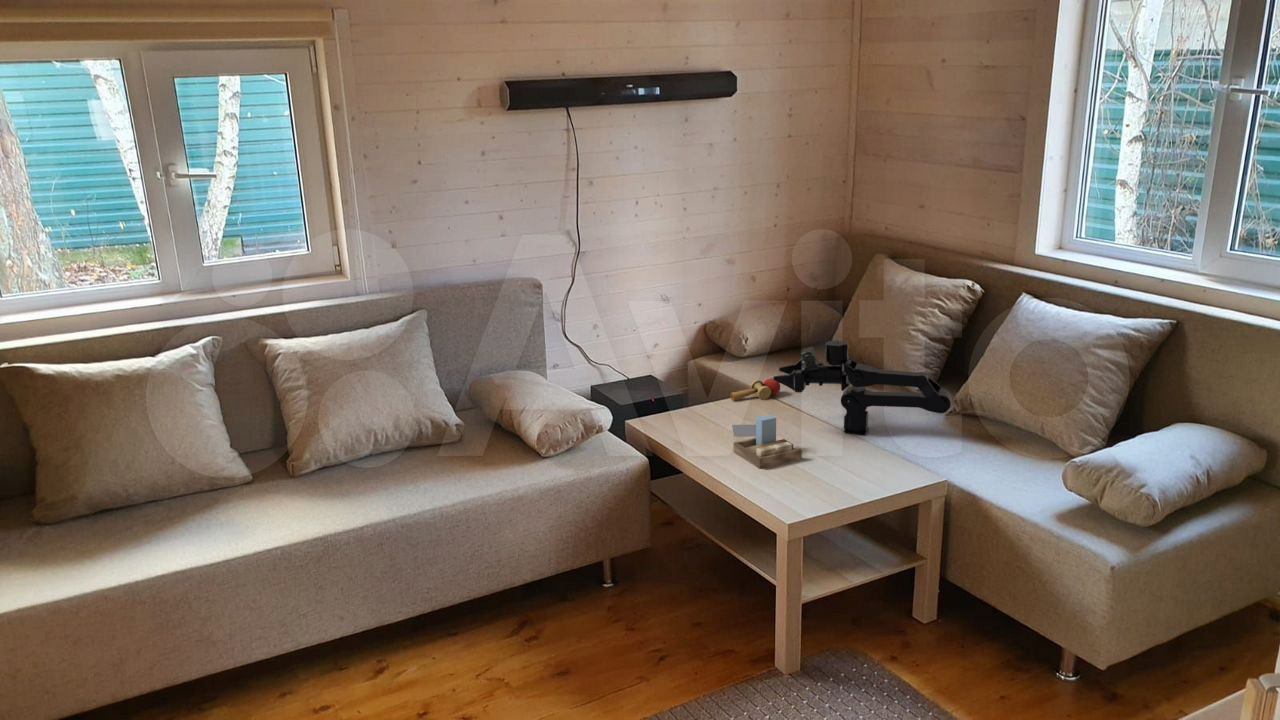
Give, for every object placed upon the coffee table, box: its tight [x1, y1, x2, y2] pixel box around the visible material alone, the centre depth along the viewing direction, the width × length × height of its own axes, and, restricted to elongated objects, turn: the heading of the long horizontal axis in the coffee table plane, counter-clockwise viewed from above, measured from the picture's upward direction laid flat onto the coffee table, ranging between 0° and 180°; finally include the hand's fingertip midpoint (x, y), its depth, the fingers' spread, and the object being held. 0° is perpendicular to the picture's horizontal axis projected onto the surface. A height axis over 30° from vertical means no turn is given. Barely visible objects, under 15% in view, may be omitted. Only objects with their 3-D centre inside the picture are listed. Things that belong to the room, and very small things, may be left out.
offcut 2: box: [773, 441, 793, 454], centre depth 276 cm, size 5×2×4 cm, turn 116°
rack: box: [733, 437, 803, 470], centre depth 279 cm, size 14×14×4 cm
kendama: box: [729, 377, 781, 402], centre depth 329 cm, size 8×6×18 cm
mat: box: [731, 424, 756, 438], centre depth 299 cm, size 10×10×1 cm
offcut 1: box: [756, 446, 775, 457], centre depth 274 cm, size 5×2×4 cm, turn 116°
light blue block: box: [755, 414, 777, 445], centre depth 283 cm, size 5×3×10 cm, turn 116°
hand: (776, 373), depth 301 cm, fingers open, 9 cm apart
